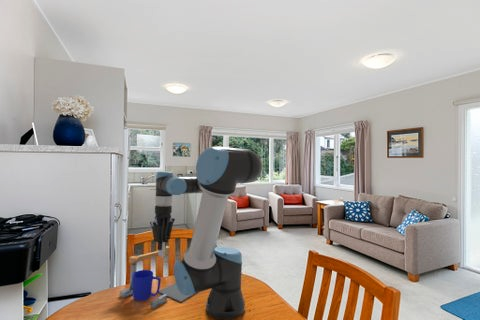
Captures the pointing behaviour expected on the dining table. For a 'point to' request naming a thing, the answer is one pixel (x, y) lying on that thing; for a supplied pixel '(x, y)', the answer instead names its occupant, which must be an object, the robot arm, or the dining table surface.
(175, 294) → the coaster
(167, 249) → the ball-tipped wooden rod
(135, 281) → the mug
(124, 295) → the dock
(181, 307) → the dining table surface
